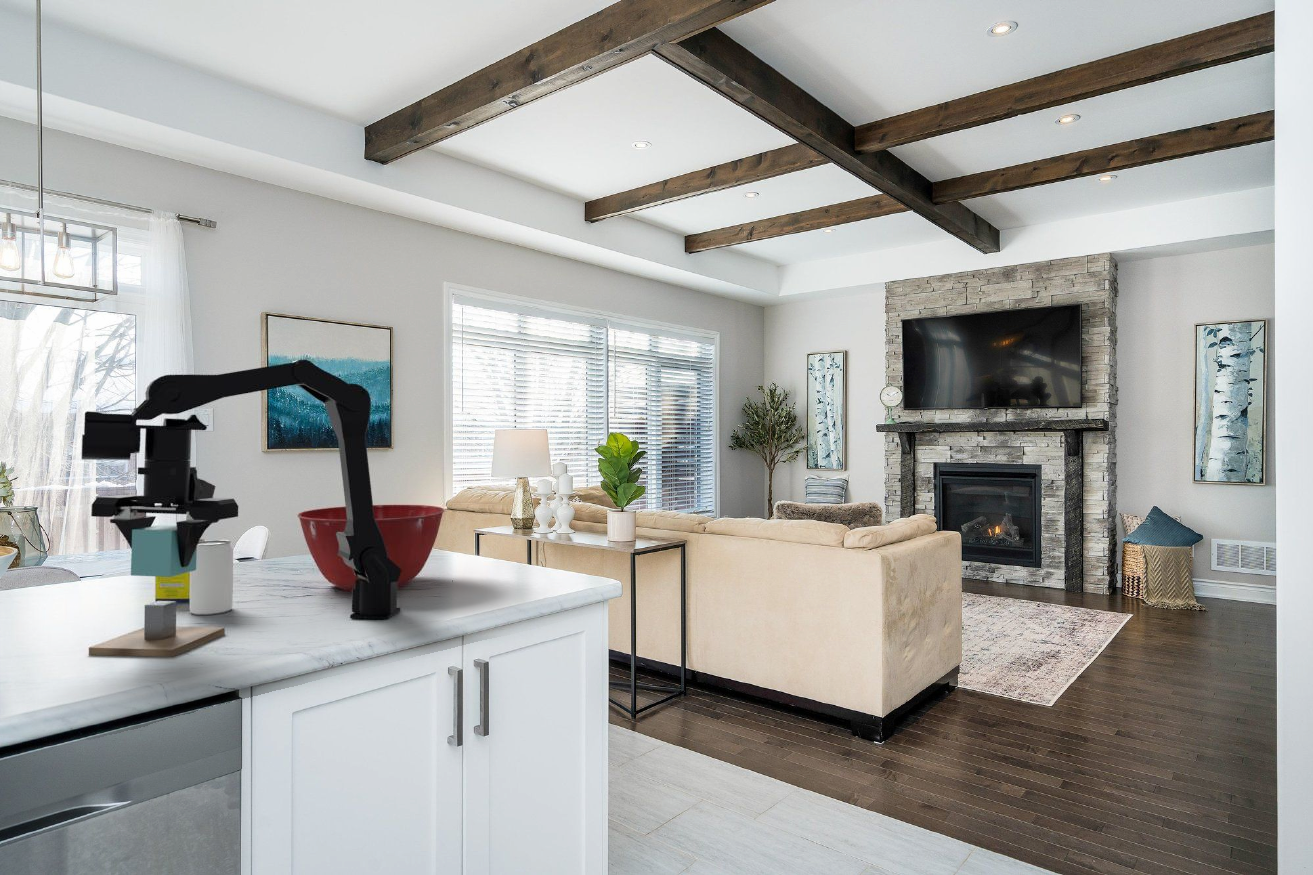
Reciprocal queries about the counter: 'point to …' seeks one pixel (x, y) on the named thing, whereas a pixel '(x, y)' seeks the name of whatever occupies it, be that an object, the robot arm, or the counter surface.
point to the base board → (157, 642)
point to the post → (160, 620)
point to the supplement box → (173, 587)
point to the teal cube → (157, 552)
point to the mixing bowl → (400, 526)
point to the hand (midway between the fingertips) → (164, 566)
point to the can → (212, 578)
